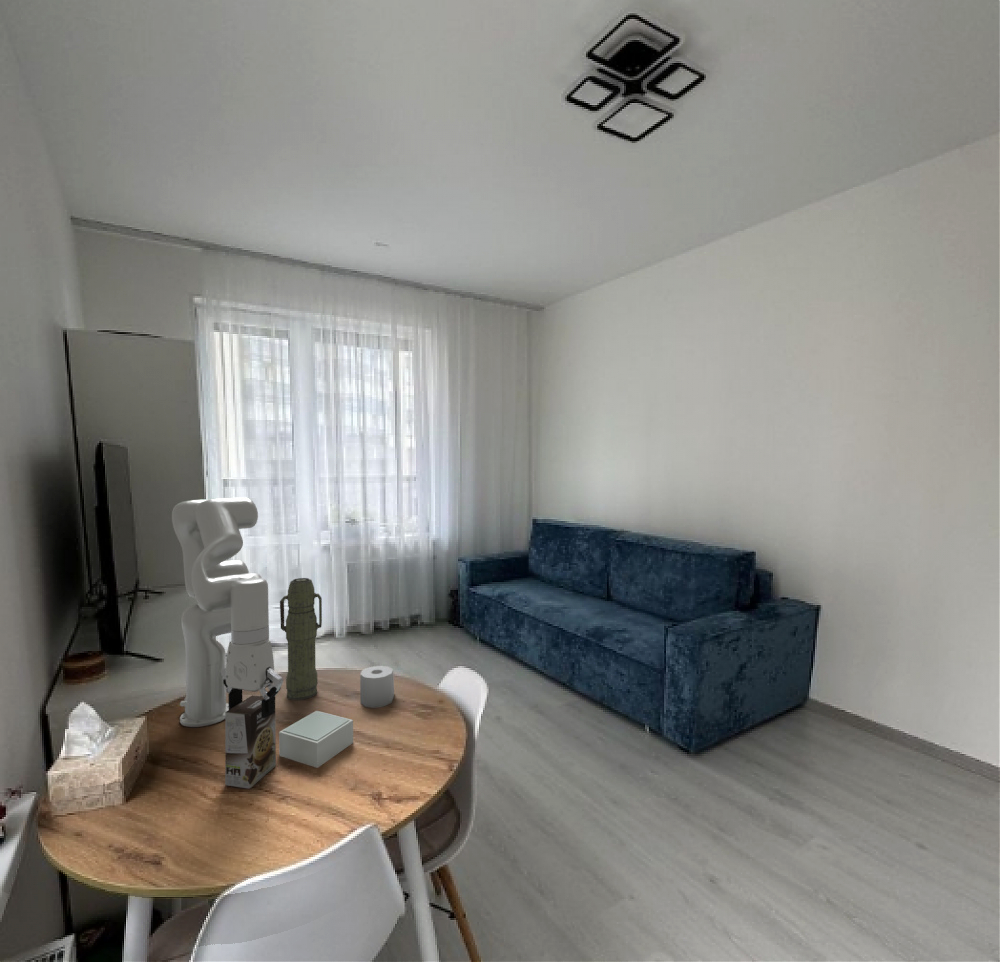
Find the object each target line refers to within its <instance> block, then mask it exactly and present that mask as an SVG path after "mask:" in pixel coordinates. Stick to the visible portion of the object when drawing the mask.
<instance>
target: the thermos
mask: <svg viewBox="0 0 1000 962" xmlns="http://www.w3.org/2000/svg"><path fill="white" fill-rule="evenodd" d="M287 588H288V589H287V595H284V596H283V597H282V598H281V599H280V601H279V614H280V629H281V630H282V631H283V632H284V633H285V639H286V641H287V673H286V678H285V681H286V682H285V683H286V685H285V686H286V687H285V689H286V698H287V699H288V700H291V701H302V700H307V698H308V699H310V698H312V697H314V696H316V695H317V693H318V689H317V688H318V682H319V681H318V672H317V669H316V638H317V636H318V629H321V628H322V625H323V613H322V612H323V611H322V609H323V608H322V607H323V606H322V604H323V601H322V595H320V593H316V592H315V586H314V583H313V581H312V579H310V578H308V577H300V578H299V577H298V578H294V579H292V580H291V581H290V582H289V584H288V587H287ZM316 598H318V618H317V615H316V612H315V607H314V606H315V599H316ZM285 600H287V607H288V610H287V615H286V620H285ZM318 619H319V620H318ZM317 621H318V622H317Z"/></svg>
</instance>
